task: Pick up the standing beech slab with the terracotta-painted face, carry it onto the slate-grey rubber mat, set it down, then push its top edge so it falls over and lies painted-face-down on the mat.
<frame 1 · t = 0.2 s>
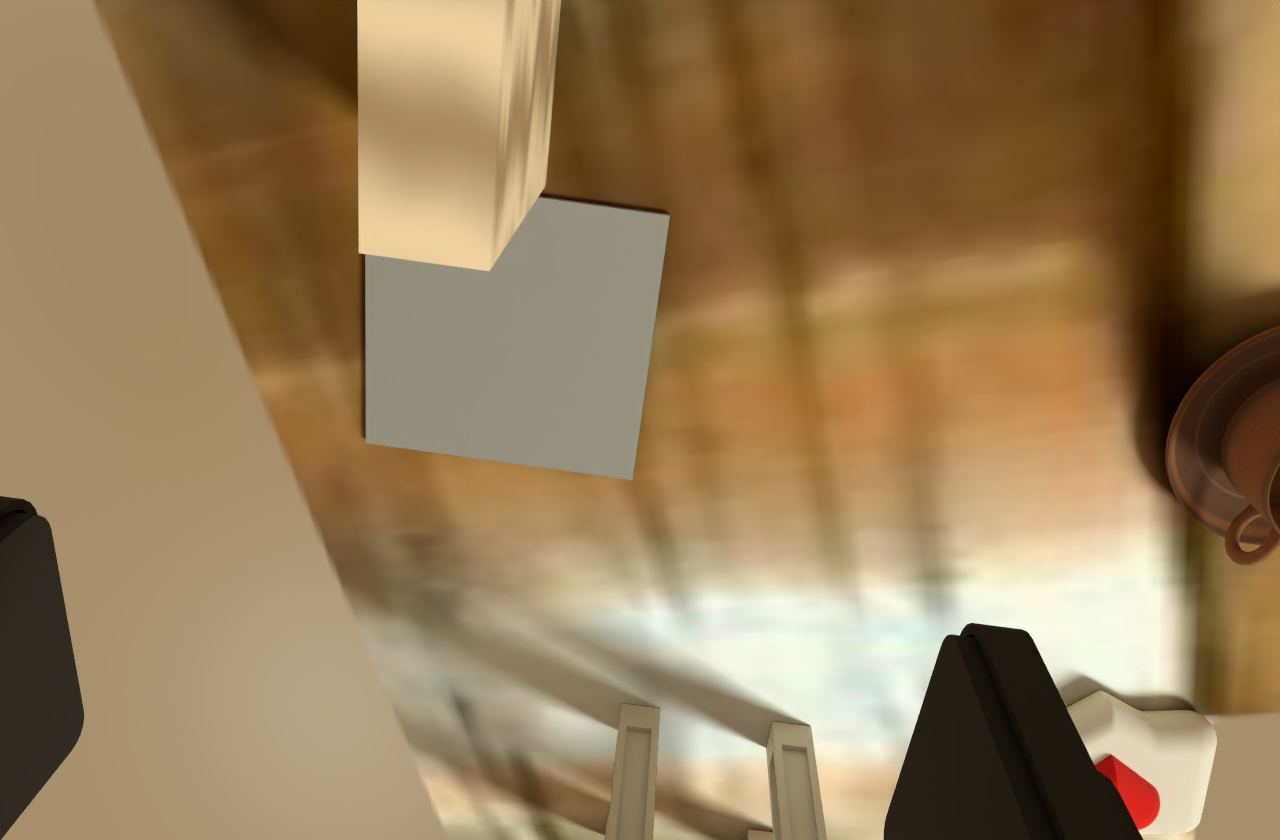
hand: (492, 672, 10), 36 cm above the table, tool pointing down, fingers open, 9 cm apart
stool: (703, 780, 60), on the table
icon: (1087, 743, 57), on the table
slab: (504, 75, 42), on the table
cup and saucer: (1277, 418, 47), on the table
mat: (508, 334, 47), on the table
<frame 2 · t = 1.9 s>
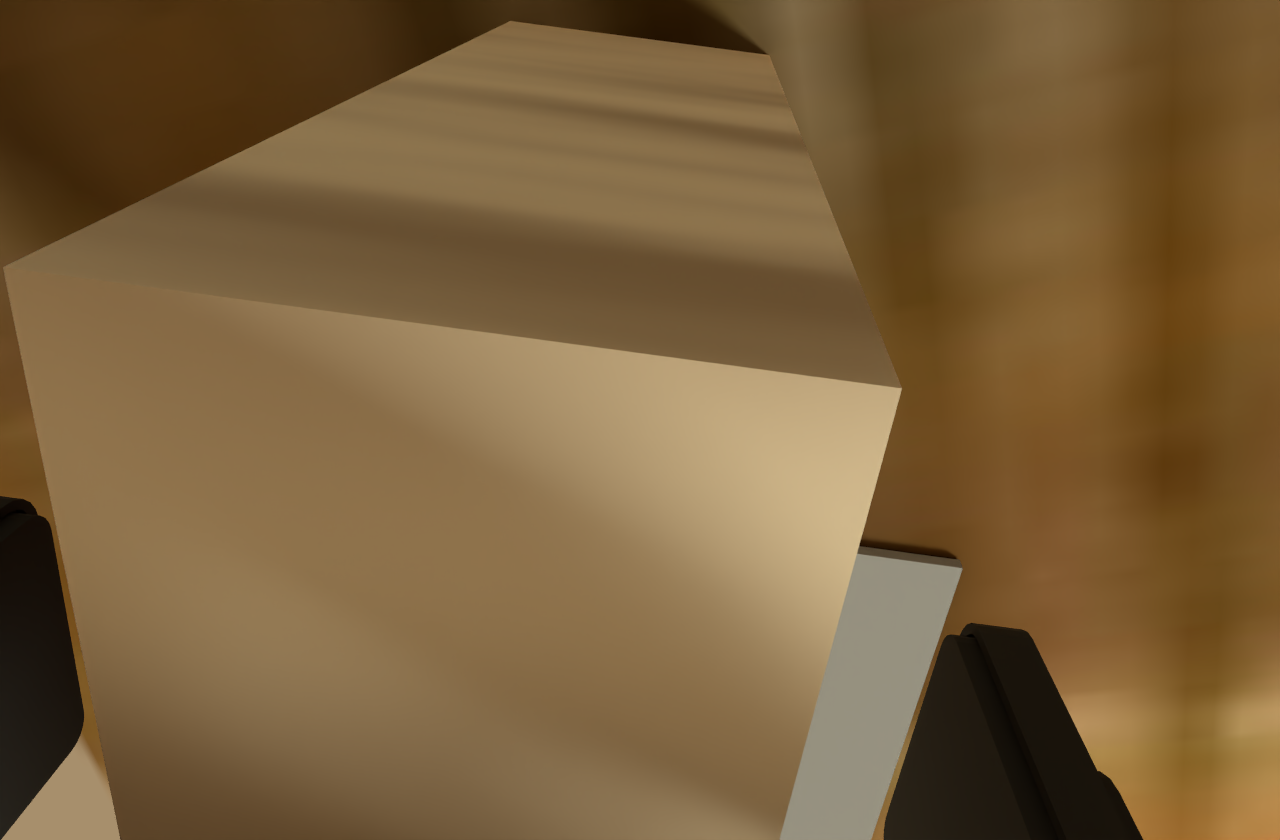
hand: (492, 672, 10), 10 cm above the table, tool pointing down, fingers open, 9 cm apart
slab: (612, 289, 18), on the table
mat: (603, 749, 24), on the table
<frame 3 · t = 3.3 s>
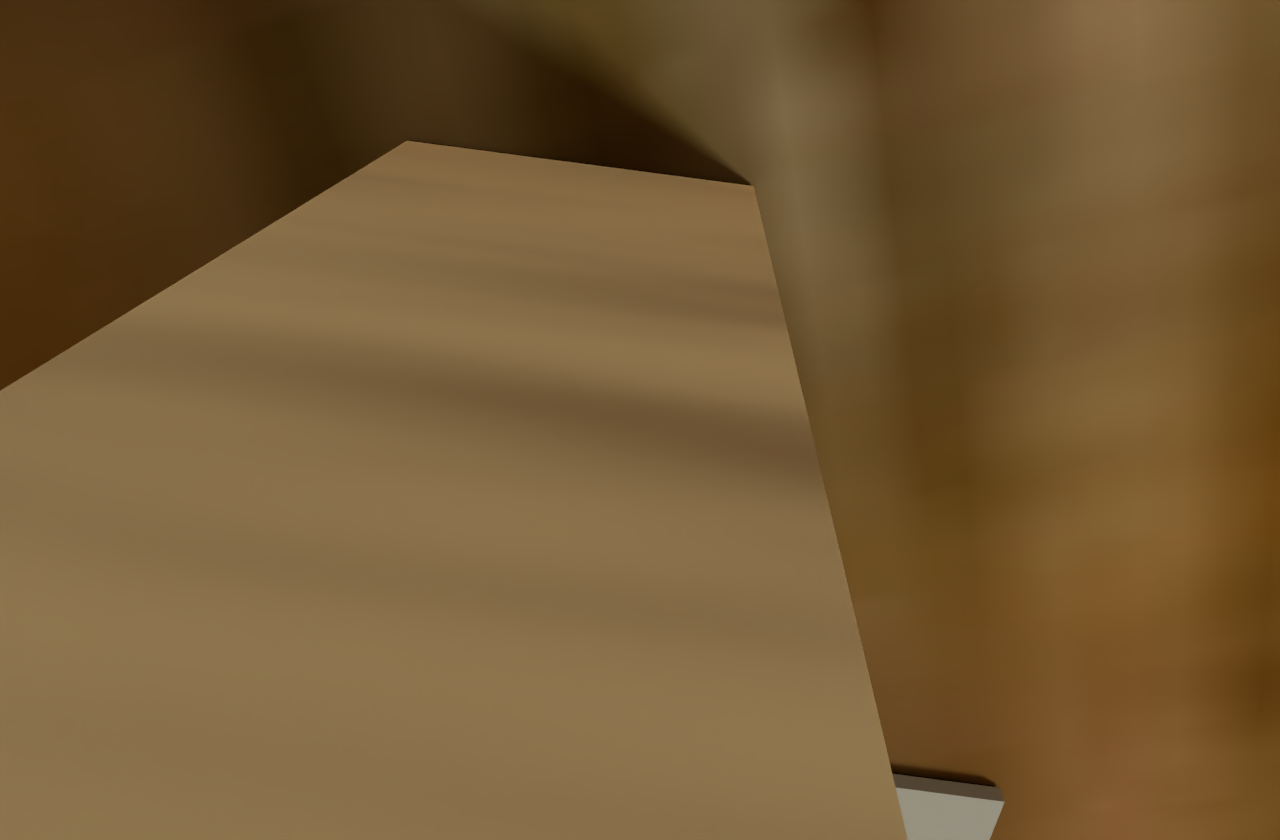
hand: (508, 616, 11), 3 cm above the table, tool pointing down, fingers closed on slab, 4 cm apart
slab: (552, 473, 14), on the table, touching gripper
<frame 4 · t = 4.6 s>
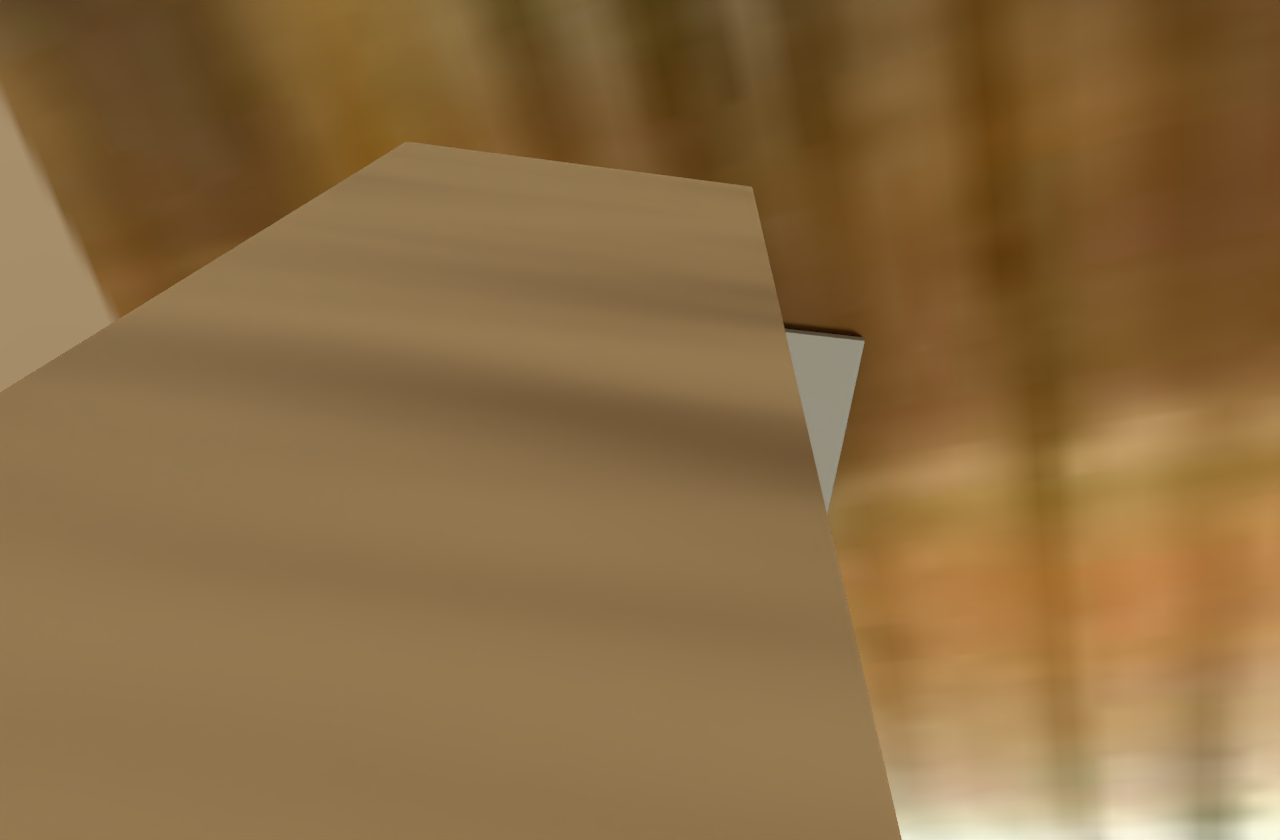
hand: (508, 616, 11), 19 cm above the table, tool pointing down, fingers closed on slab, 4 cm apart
slab: (551, 473, 14), point 15 cm above the table, touching gripper
mat: (612, 508, 32), on the table
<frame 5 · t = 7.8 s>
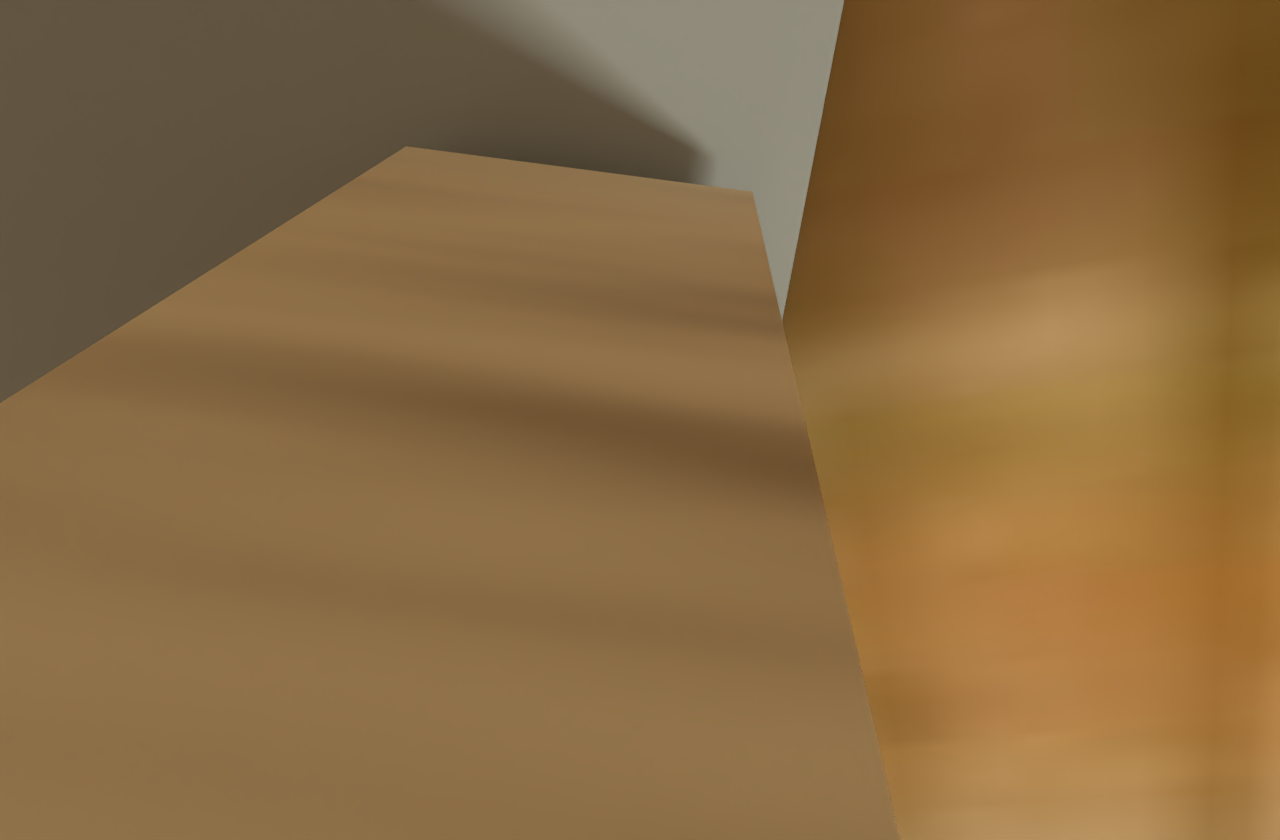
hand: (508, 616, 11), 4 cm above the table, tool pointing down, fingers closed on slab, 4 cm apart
slab: (551, 478, 14), point 1 cm above the table, touching gripper
mat: (302, 416, 15), on the table
when the fingers open (4 cm above the table, at t = 8.1 s): slab stays where it is, resting on mat.
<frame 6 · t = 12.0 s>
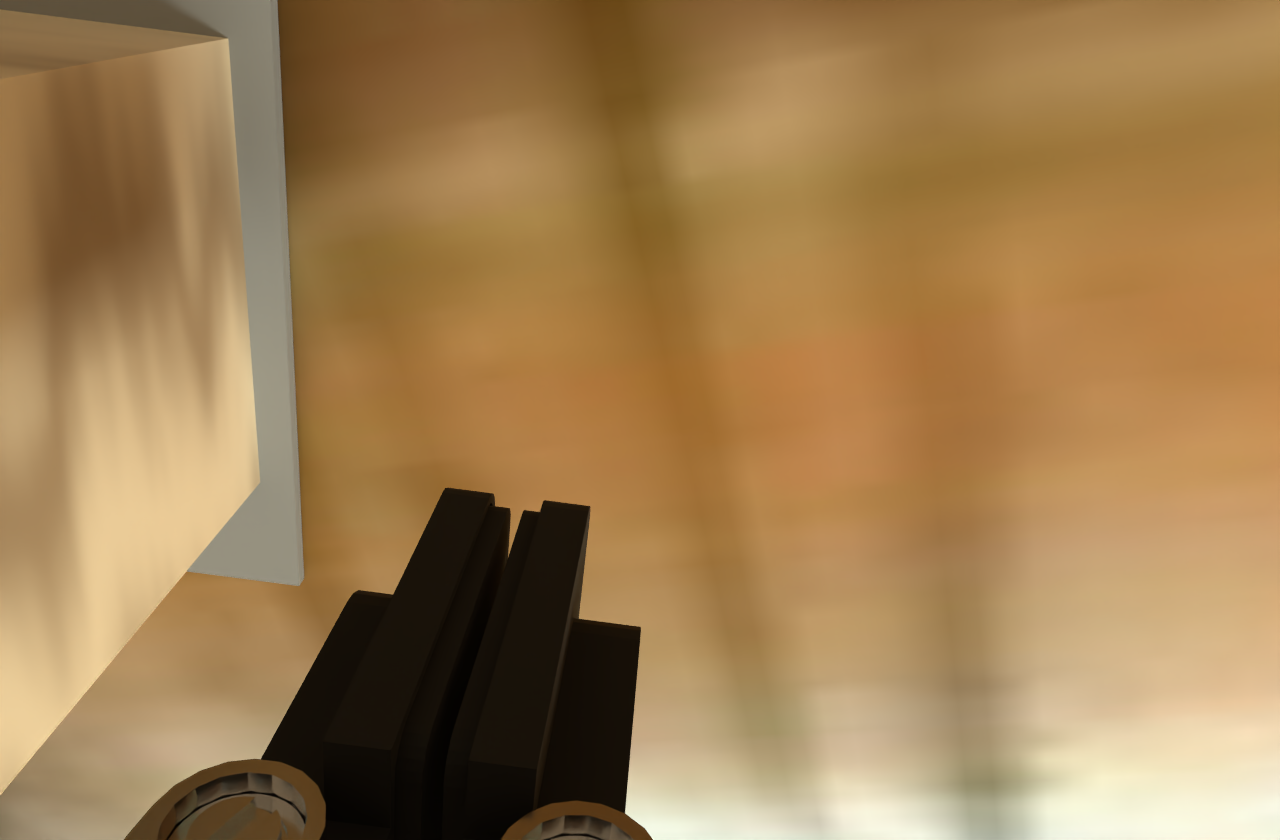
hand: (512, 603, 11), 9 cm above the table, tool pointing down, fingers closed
slab: (134, 269, 19), resting on mat
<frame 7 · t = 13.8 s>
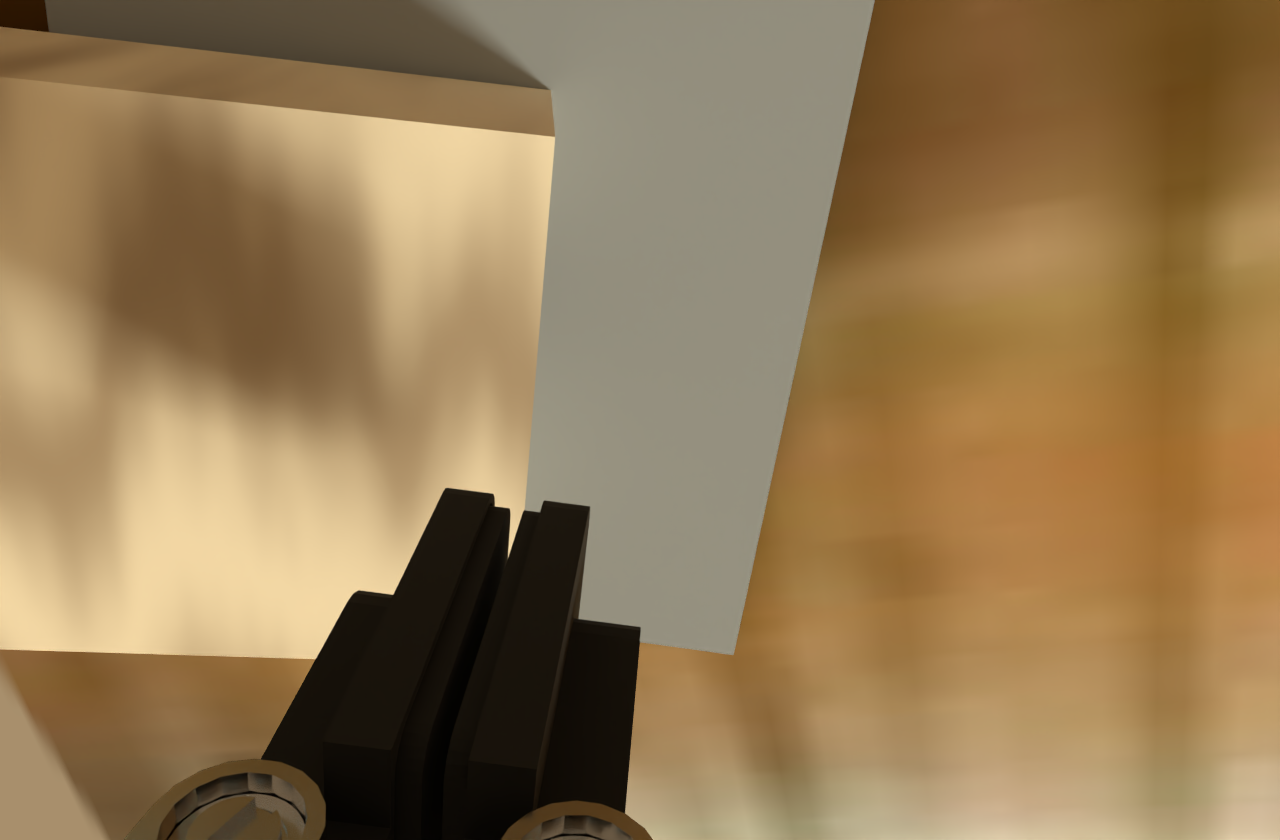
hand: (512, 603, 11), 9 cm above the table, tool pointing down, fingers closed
slab: (531, 377, 17), point 2 cm above the table, tilted 81°, touching mat
mat: (442, 318, 19), on the table
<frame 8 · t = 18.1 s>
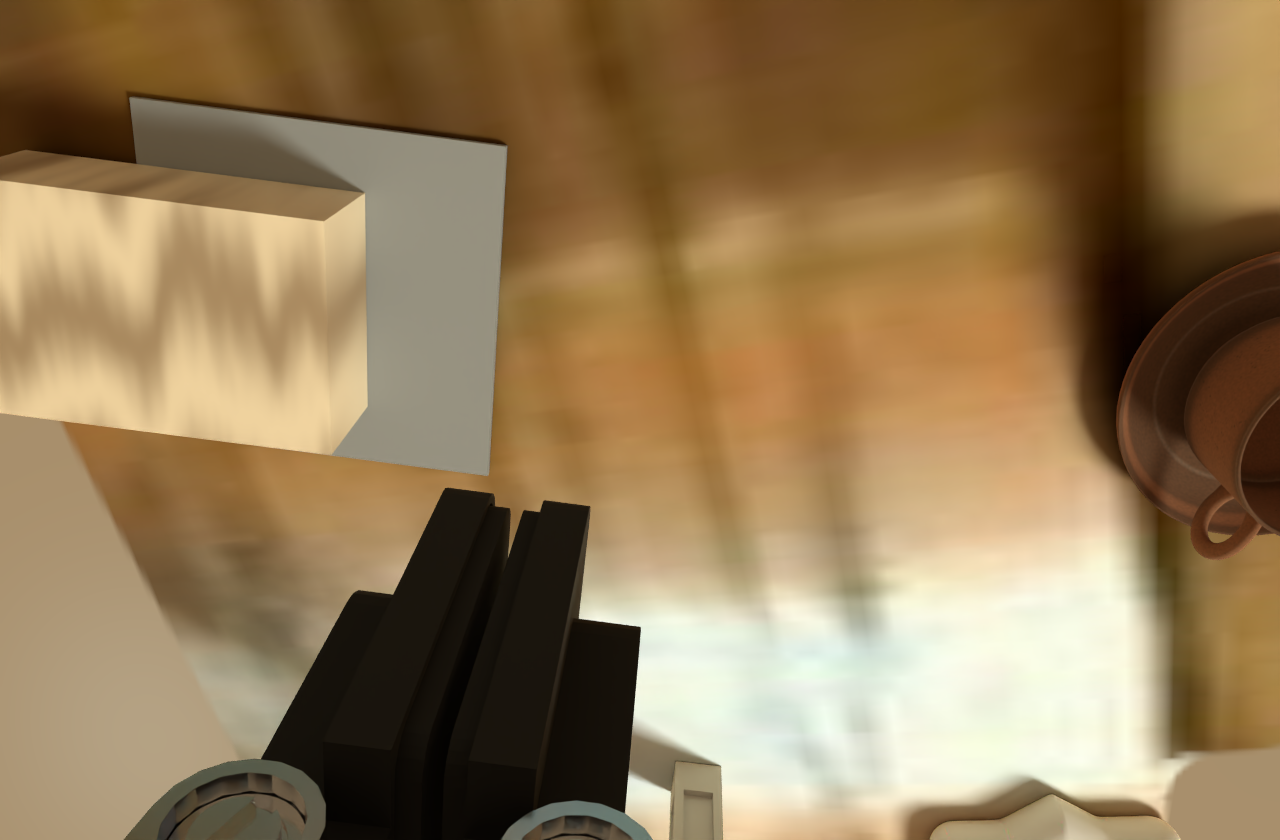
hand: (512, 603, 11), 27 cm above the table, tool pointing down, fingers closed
stool: (601, 829, 51), on the table
slab: (348, 323, 36), point 3 cm above the table, tilted 90°, touching mat
cup and saucer: (1254, 379, 38), on the table
mat: (325, 299, 39), on the table
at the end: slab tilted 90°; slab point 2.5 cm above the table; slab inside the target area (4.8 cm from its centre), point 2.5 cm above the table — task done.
